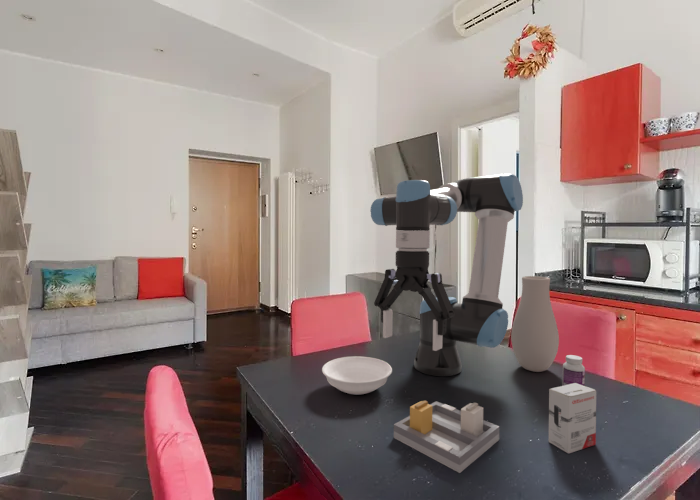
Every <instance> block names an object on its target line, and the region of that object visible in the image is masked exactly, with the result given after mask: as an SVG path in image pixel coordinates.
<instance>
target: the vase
mask: <svg viewBox="0 0 700 500" xmlns="http://www.w3.org/2000/svg"><path fill="white" fill-rule="evenodd" d="M521 283H522V284H521V286H522V287H521V296H520V301H519V305H518V307H517V310H516V313H515V316H514V320H513V323H512V327H511V333H510V335H511V337H510V338H511V339H510V340H511V347H512V350H513V353H514V355H515V358H516V360H517V362H518V364H519V365H520V366H521V367H522V368H523V369H525V370H527V371H529V372H534V373H535V372H536V373H541V372H545V371H547V370H548V369H549V368H550V367H551V366H552V364H553V363H554V361H555V358H556V356H557V354H558V350H559V343H560V337H559V330H558V325H557V321H556V317H555V313H554V310H553V306H552V303H551V297H550V295H551V294H550V283H551V278H550V277H546V276H538V275H536V276H535V275H528V276H522V277H521Z"/></svg>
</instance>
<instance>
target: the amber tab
mask: <svg viewBox="0 0 700 500" xmlns="http://www.w3.org/2000/svg"><path fill="white" fill-rule="evenodd" d="M430 404H431V403H430ZM430 404H429V402H428V401H427V400H421V401H419V402H417V403H415V404H413V405H411V406H409V416H410V428H412V429H414V430H416V431H418V432H420V433H423V434H426V433H428V432H430V431H431V430H432V405H430Z"/></svg>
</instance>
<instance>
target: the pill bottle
mask: <svg viewBox="0 0 700 500" xmlns="http://www.w3.org/2000/svg"><path fill="white" fill-rule="evenodd" d="M585 376H586V367H585V366H584V364H583V357H581V356H579V355H573V354H568V355H566V356H565V362H564V363H563V364H562V385H561V386H564V385H568V384H573V383H577V384H580V385H583V386H585V379H586V377H585Z"/></svg>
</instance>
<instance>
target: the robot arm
mask: <svg viewBox="0 0 700 500" xmlns="http://www.w3.org/2000/svg"><path fill="white" fill-rule="evenodd" d="M520 182H521V181H520V180H519V178H518V176H517V175H515V174H513V173H504V174H503V173H499V174H492V175H485V176H484V175H483V176H475V177H474V176H473V177H472V176H471V177H466V178H462V179H459V180H455V181H453V182H448V183H444V184H441V185H440V186H439V187H438V188H433V189H431V185H430V183H429V181H427V180H424V179H423V180H422V179H409V180H408V179H407V180H402V181H400V182H398V183H397V185H396V194H395V196H390V197H381V198H380V197H379V198H377V199H374V200H373V202H372V203H371V206H370V217H371V220H372V222H373V223H374V224H375V225H377V226H384V227H387V226H396V227H395V248H396V249H398V250H396V252H395V267H396V269H395V268H389V269H385V271H384V279H383V281H382V283H381V286H380V288H379V290H378V293H377V296H376V298H375V299H374V302H373V303H374V306H375V307H378V308H379V309H380V322H381V323H382V338H383V339H387V338H391V337H393V325H394V324H393V319H394V318H393V315H394V313H393V309H392V306H393V304H394V303H395V302H396V300H397V299H398V298H399V296H400V295H401V294H402V293H403V291H406V292H407V291H410V292H413V293H415V292H417V293H418V294H419V295H420V296H421V297H422V298H423V300H422V301H421V302H420V306H419V345H418V347H417V350H416V354H415V357H414V360H413V363H414V364H413V365H414V368H415V369H416V371H417V372H420V373H421V374H422V373H423V374H425V375H429V376H433V377H436V376H437V377H452V376H457V375H458V374H460V373H461V372H462V360H461V357H460V354H459V351H458V348H457V342H459V343H464V344H469V345H474V346H478V347H480V348H481V347H483V348H490V349H491V348H496V347H498V346H499V345H501V343H502V342H503V341H504V338H505V336H506V334H507V330H508V326H509V314H508V311H507V310H506V309H504V308H503V307H504V306H503V305H504V303H503V302H502V301H501V299H500V298H499V292H500V285H501V278H502V269H503V261H504V256H505V255H504V254H505V247H506V238H507V231H508V223H509V222H510V221H512V220H513V219H514V218H515V212H519V211H520V210H522V209H523V203H524V194H523V189H522V185H521V183H520ZM457 212H458V213H474V216H475V217H476V218H477V219H478V224H477V232H476V238H475V247H474V253H473V259H472V260H473V261H472V267H471V274H470V279H469V280H470V281H469V288H468V293H467V294H465V295H464V296H463V297H462V301H461V303H458V300H457V298H456V297H453V296H448V293H447V291H446V289H445V286H444V284H443V276H442V273H440V272H435V273H429V266H430V252H429V251H427V249H430V239H431V238H430V226H433V225H435V226H445V225H448V224H451V222H453V221H454V220H455V218H456V216H457ZM395 279H396V280H397V281H396V283H395V284H394V281H395ZM428 282H429V283H430V284H431V286H430V285H429V283H428ZM393 284H394V285H393ZM392 287H393V289H391V288H392ZM431 287H432V289H431ZM432 290H433V292H434V293H433V292H432Z"/></svg>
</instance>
